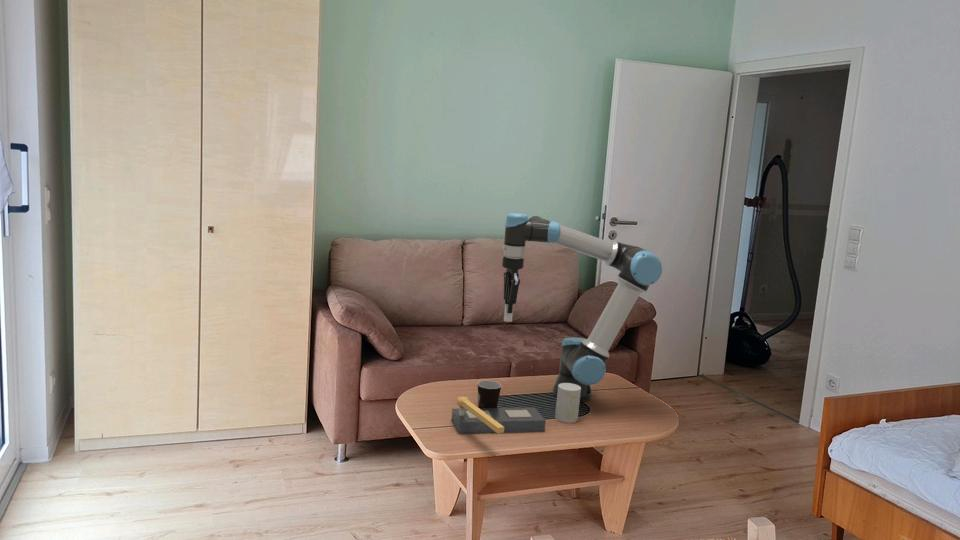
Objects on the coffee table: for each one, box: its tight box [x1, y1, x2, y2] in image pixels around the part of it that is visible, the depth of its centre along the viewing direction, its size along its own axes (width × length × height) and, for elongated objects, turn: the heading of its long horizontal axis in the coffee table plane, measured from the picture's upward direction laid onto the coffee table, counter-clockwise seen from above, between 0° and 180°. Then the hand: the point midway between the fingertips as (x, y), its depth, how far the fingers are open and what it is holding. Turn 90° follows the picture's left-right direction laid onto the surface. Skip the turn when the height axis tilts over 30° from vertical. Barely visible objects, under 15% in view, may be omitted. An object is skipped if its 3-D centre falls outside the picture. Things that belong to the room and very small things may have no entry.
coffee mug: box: [477, 380, 502, 408], centre depth 264 cm, size 12×9×10 cm
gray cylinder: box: [554, 383, 581, 424], centre depth 261 cm, size 8×8×12 cm
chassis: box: [450, 405, 546, 435], centre depth 250 cm, size 30×12×8 cm, turn 104°
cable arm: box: [456, 396, 505, 434], centre depth 236 cm, size 27×4×2 cm, turn 29°
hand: (507, 321), depth 264 cm, fingers closed
